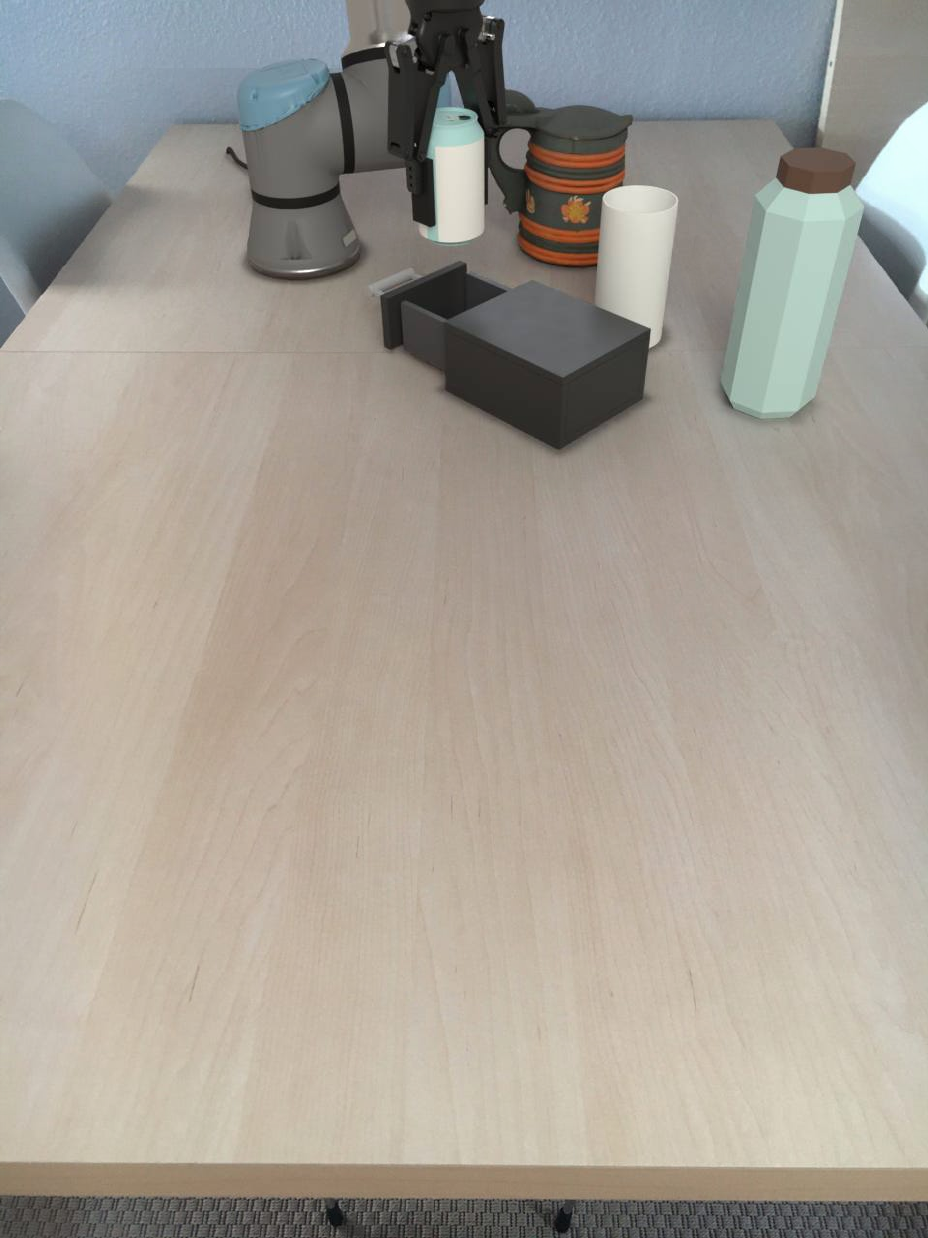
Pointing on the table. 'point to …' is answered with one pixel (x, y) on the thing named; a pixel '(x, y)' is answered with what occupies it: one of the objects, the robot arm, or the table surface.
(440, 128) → the can
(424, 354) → the drawer
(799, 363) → the water bottle
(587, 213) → the beer stein
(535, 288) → the cabinet
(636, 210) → the cup
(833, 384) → the table surface
